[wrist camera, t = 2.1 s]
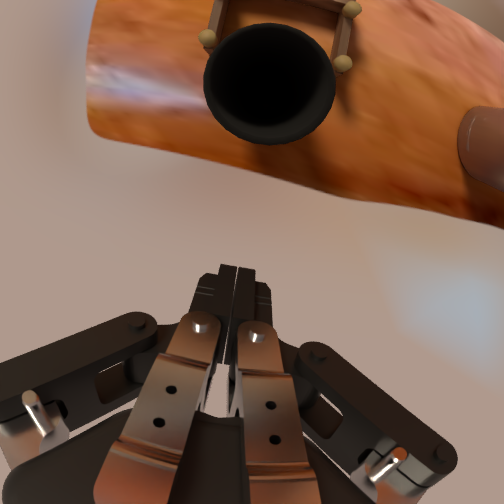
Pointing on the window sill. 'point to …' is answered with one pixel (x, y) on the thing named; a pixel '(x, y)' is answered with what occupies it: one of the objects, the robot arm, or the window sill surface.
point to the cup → (269, 84)
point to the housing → (341, 3)
